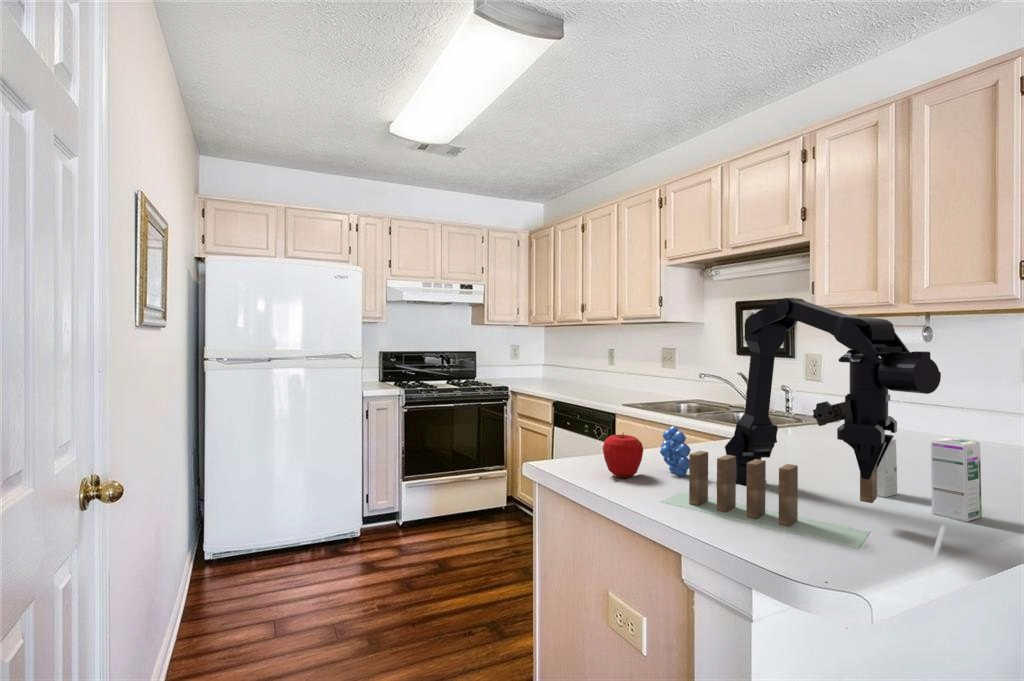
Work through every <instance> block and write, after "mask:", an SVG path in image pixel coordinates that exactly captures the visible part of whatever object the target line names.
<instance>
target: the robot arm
mask: <svg viewBox="0 0 1024 681" xmlns="http://www.w3.org/2000/svg"><path fill="white" fill-rule="evenodd" d="M799 322H800V323H801V324H804V325H807V326H810V327H813V328H814V329H818V330H821V331H823V332H826V333H828V334H830V335H831V336H833V337H834V338H835V340H836V341H837V342H838V343H839V344H841V345H842V346H844V347H846V348H848V350H847V351H846V353H845V354H843V355H842V356H841V357H839V358H838V362H839V363H849V387H848V388H849V393H847V394H846V395H845V396H844V401H842V402H838V403H834V404H831V403H830V402H829V401H828V400H826V401H822V402H817V403H816V406H815V409H812V412H813V415H812V417H813V419H814V420H816V422H817V425H818V427H823V426H826V425H827V424H831V423H834V422H838V421H843V420H844V423H842V424H841V425H840V426H837V429H836V430H837V432H836V434H837V435H836V436H837V437H836V439H837V440H838V441H843V442H844V443H846V444H847V445H848V446H849V447H851V448H852V449H853V452H854V455H855V458H856V462H857V466H858V469H859V474H860V473H861V477H862V478H863V479H868V480H869V479H870V477H871V475H872V473H873V471H874V469H875V466H876V464H877V469H878V467H879V465H880V462H881V460H882V458H883V456H884V455H885V453H886V451H887V449H888V447H889V445H890V443H891V441H892V439H894V435H893V434H896V433H897V432H898V422H897V420H896V419H894V417H893V416H891V415H889V402H890V401H891V394H889V391H892V392H893V391H894V392H901V393H902V392H903V393H911V394H912V393H913V394H914V393H915V394H924V395H925V394H926V395H929V394H931V393H934V392H936V390H937V389H938V387H939V386H940V383H941V379H942V378H941V377H942V373H941V371H940V369H939V367H938V365H937V363H936V362H935V361H934V360H933V359H932V358H931V352H930V351H925V350H924V351H919V350H918V351H910V350H909V349H908V347H907V346H906V345H905V343H904V342H903V341H902V340H901V338H900V337H899V335H898V333H897V332H896V330H895V328H894V324H893V323H892V322H891V321H890V320H887V319H884V318H877V317H867V316H856V315H850V314H849V315H848V314H845V313H843V312H839V311H836V310H833V309H830V308H827V307H824V306H820V305H818V304H815V303H812V302H809V301H806V300H805V299H803V298H795V297H792V298H791V297H784V298H782V299H779V300H778V301H777V302H776V303H774V304H772V305H769V306H767V307H765V308H763V309H760V310H758V311H757V312H755V313H752V314H750V315H749V317H747V318H746V319H745V321H744V341H745V343H746V346H747V347H748V349H749V351H750V358H749V365H748V366H749V368H748V369H749V370H748V375H747V376H748V378H747V387H746V398H745V409H744V413H743V415H742V416H741V417H740V419H739V420H738V421H737V423H736V425H735V430H734V433H733V436H732V438H731V439H730V440H729V441H728V442H727V443H726V445H724V450H725V455H732V456H736V485H742V486H746V487H747V463H748V462H750V461H753V460H755V459H758V460H762V458H763V459H764V458H770V457H771V455H772V451H773V449H774V447H775V444H776V443H778V439H777V435H778V429H779V427H778V425H776V424H773V422H772V420H771V417H770V406H771V405H770V404H771V396H772V388H773V387H772V386H773V377H774V367H775V358H776V353H777V352H778V351H779V349H781V347H782V346H783V344H784V342H785V338H786V335H787V332H788V331H790V330H791V329H793V328H794V327H795V326H796V325H797V323H799ZM886 431H889V432H890V433H892V434H886V433H885V432H886Z"/></svg>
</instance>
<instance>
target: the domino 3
mask: <svg viewBox="0 0 1024 681" xmlns="http://www.w3.org/2000/svg"><path fill="white" fill-rule="evenodd" d="M766 464H767V463H766V460H763V459H761V460H758V459H755V460H753V461H750V462H748V463H747V486H746V505H747V511H746V517H747V518H752V519H756V520H757V519H758V518H760V517H761V516H763V515H764V514H765V509H766V488H767V487H766V484H767V480H766V478H767V476H766V472H767V471H766V470H767V469H766V467H767V466H766Z"/></svg>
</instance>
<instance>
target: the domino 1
mask: <svg viewBox="0 0 1024 681" xmlns="http://www.w3.org/2000/svg"><path fill="white" fill-rule="evenodd" d="M688 456H689V458H688V459H689V469H688V471H689V472H688V475H689V480H688V482H689V483H688V484H689V486H688V488H689V490H688V493H689V504H690V505H694V506H700V505H701V504H703V503H705V502H707V501H708V497H709V452H708V451H703V450H698V451H695V452H692V453H691V452H690V454H689V455H688Z"/></svg>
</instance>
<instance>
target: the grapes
mask: <svg viewBox="0 0 1024 681" xmlns="http://www.w3.org/2000/svg"><path fill="white" fill-rule="evenodd" d="M662 437H663V439H664V441H662V443H661V445H660V446H661V448H660V451H659V453H660V454H661V456H662V457H663V461H664V462H665V464H666V465H668V466H669V468H668V470H669V472H671V474H673V475H674V474H675V475H677V476H679V477H685V476H687V473H688V471H689V458H688V456H689V454H691V450H692V449H691V448H690V446H689V445H688V444H687V443H685V442H686V439H687V437H686V435H685V434H684V433H683V431H680V430H679V429H678V428H677V427H676V426H675V425H671V426H670V427H669V428H668V429H666V430H665V431H664V432H663V434H662Z"/></svg>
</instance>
